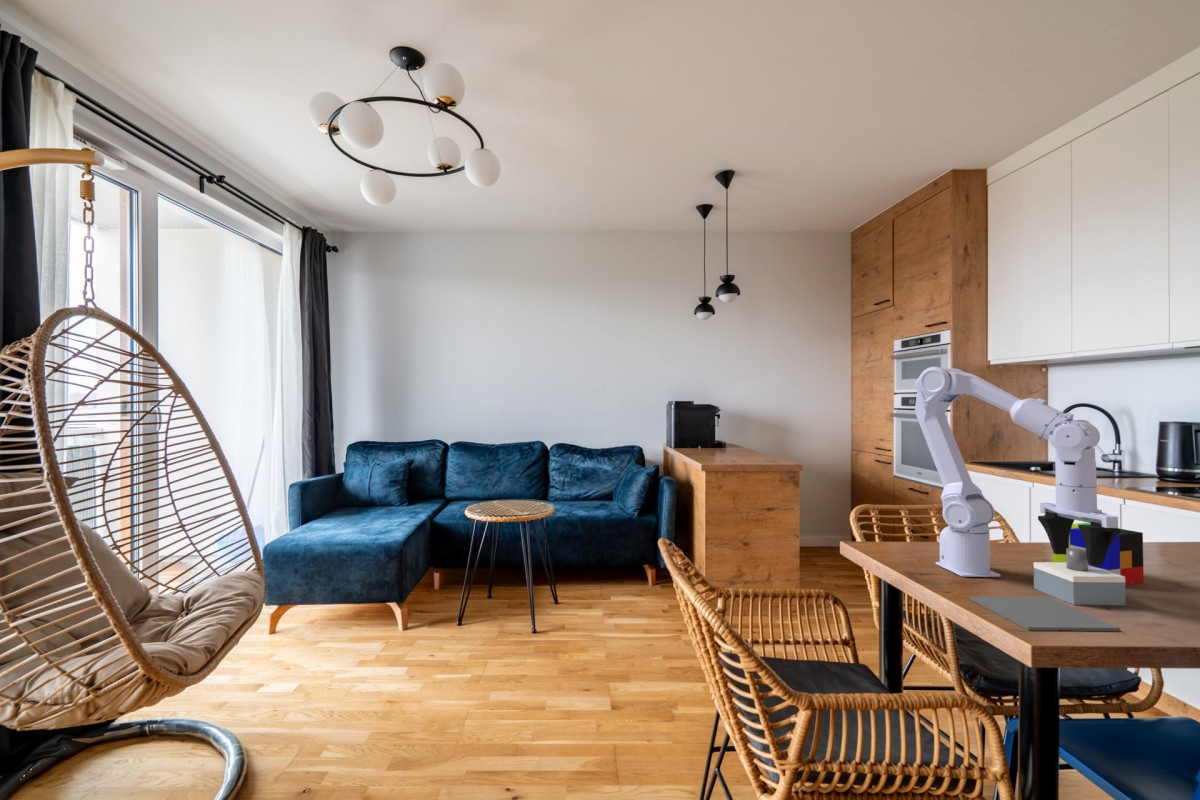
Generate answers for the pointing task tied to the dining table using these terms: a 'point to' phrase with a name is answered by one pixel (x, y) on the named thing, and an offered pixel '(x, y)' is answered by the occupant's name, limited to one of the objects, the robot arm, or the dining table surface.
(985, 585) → the dining table surface
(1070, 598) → the storage box
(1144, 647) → the dining table surface
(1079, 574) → the lid
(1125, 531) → the puzzle toy
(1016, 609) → the mat
